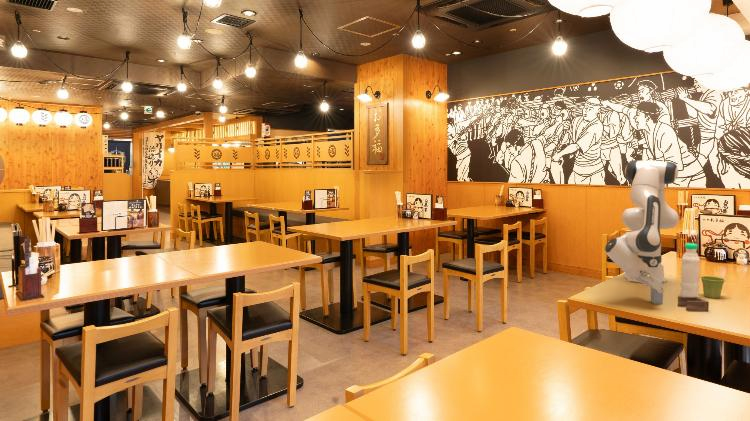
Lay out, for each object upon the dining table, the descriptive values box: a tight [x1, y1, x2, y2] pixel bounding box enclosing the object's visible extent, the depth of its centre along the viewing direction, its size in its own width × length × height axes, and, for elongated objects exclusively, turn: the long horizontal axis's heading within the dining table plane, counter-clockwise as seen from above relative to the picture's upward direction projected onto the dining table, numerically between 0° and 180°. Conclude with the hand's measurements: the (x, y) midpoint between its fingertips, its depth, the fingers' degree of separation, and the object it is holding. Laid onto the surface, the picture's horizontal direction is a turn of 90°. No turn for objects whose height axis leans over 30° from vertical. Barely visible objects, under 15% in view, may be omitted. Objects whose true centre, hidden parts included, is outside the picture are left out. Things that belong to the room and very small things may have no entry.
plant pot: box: [700, 275, 726, 299], centre depth 220 cm, size 9×9×9 cm
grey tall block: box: [649, 280, 664, 305], centre depth 211 cm, size 4×4×10 cm
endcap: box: [677, 296, 710, 312], centre depth 203 cm, size 8×8×4 cm
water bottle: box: [679, 242, 701, 298], centre depth 219 cm, size 7×7×25 cm
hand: (658, 291), depth 211 cm, fingers closed on grey tall block, 3 cm apart
